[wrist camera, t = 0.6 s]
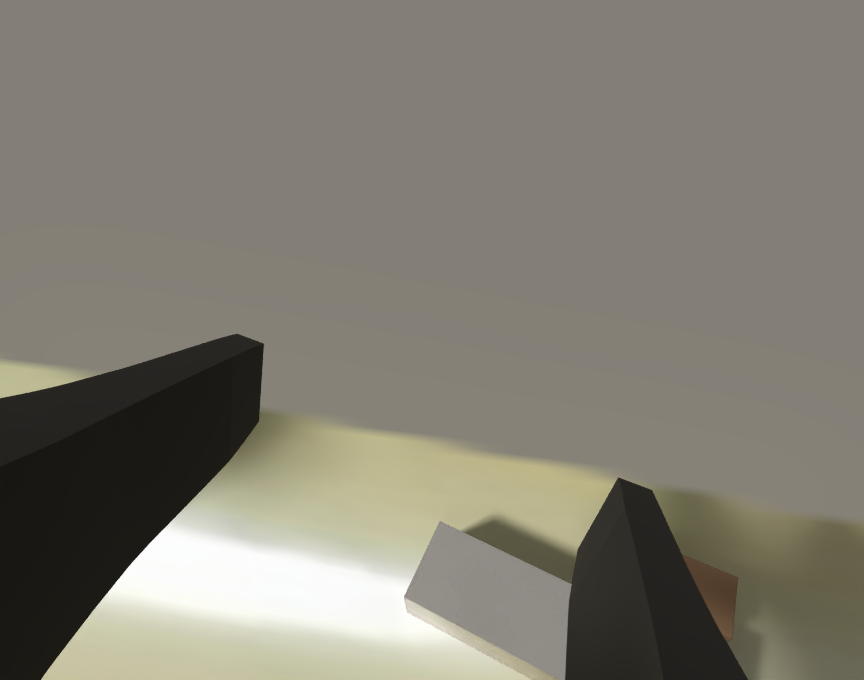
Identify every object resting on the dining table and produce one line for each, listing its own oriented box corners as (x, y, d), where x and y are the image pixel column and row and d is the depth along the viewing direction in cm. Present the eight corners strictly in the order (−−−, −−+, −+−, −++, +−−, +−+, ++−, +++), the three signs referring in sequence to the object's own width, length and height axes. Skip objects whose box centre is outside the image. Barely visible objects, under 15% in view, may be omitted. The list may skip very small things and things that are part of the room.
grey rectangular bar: (684, 762, 22) (721, 765, 20) (407, 613, 26) (403, 597, 23) (698, 671, 24) (734, 662, 22) (439, 543, 28) (439, 520, 25)
